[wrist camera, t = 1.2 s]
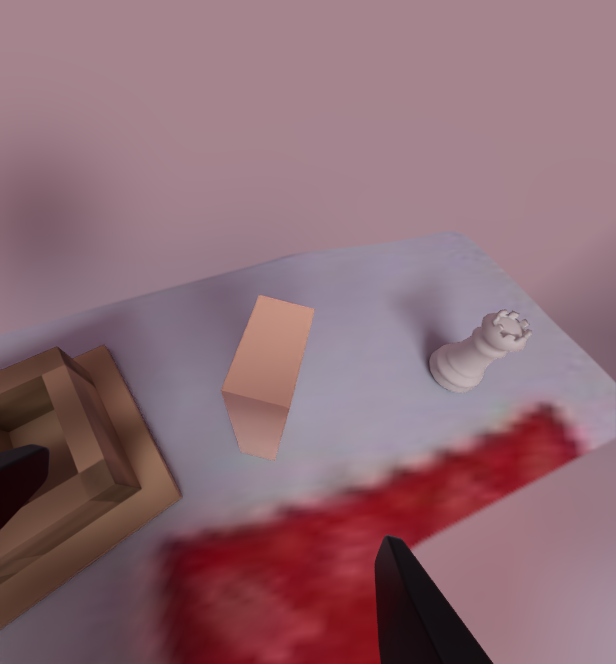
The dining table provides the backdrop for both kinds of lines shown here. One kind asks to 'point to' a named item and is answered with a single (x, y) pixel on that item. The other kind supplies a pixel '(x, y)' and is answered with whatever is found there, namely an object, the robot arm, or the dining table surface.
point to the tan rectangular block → (266, 374)
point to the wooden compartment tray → (74, 471)
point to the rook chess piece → (478, 351)
